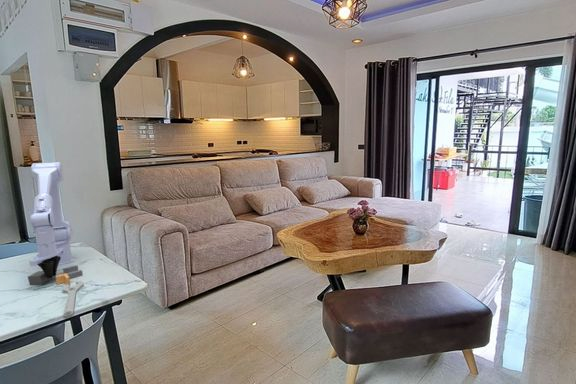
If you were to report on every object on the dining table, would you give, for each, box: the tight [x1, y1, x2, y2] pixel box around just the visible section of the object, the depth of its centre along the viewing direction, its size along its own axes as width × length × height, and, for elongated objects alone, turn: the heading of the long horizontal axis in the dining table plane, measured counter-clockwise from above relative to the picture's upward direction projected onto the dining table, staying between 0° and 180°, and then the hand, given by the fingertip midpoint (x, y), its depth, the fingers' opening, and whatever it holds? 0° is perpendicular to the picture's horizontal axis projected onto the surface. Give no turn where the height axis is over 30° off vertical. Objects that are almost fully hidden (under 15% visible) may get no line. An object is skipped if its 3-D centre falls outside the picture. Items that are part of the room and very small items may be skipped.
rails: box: [32, 282, 54, 292], centre depth 127 cm, size 11×6×1 cm, turn 44°
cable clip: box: [62, 264, 83, 280], centre depth 134 cm, size 8×5×2 cm, turn 44°
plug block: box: [27, 270, 53, 286], centre depth 128 cm, size 5×5×4 cm
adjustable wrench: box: [61, 280, 85, 319], centre depth 114 cm, size 25×6×2 cm, turn 24°
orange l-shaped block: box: [54, 273, 71, 286], centre depth 126 cm, size 5×4×3 cm
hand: (51, 276), depth 128 cm, fingers closed, pressing on plug block
